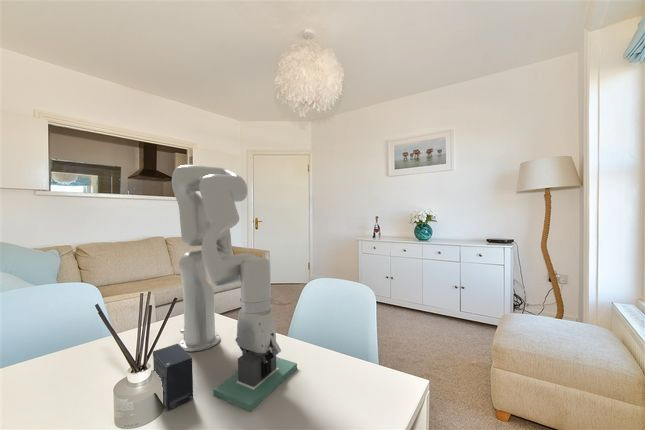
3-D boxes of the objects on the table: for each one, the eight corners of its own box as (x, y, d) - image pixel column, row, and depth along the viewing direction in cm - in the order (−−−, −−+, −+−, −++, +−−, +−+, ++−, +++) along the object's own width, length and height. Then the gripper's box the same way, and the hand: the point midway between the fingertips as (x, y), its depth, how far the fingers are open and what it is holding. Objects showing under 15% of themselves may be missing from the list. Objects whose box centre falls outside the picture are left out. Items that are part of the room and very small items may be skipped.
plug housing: (238, 381, 73) (237, 358, 73) (261, 363, 81) (261, 342, 81) (253, 387, 70) (253, 363, 70) (276, 368, 78) (275, 347, 78)
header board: (213, 395, 70) (213, 388, 70) (264, 357, 87) (264, 352, 87) (250, 411, 65) (249, 404, 64) (297, 368, 81) (296, 362, 81)
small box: (195, 398, 69) (194, 356, 69) (166, 412, 65) (164, 367, 64) (180, 380, 77) (178, 341, 76) (152, 391, 72) (151, 351, 72)
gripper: (222, 304, 76) (224, 371, 76) (272, 315, 68) (274, 390, 68) (242, 296, 82) (244, 357, 83) (291, 305, 74) (292, 373, 75)
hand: (257, 371), depth 76 cm, fingers closed on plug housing, 5 cm apart
